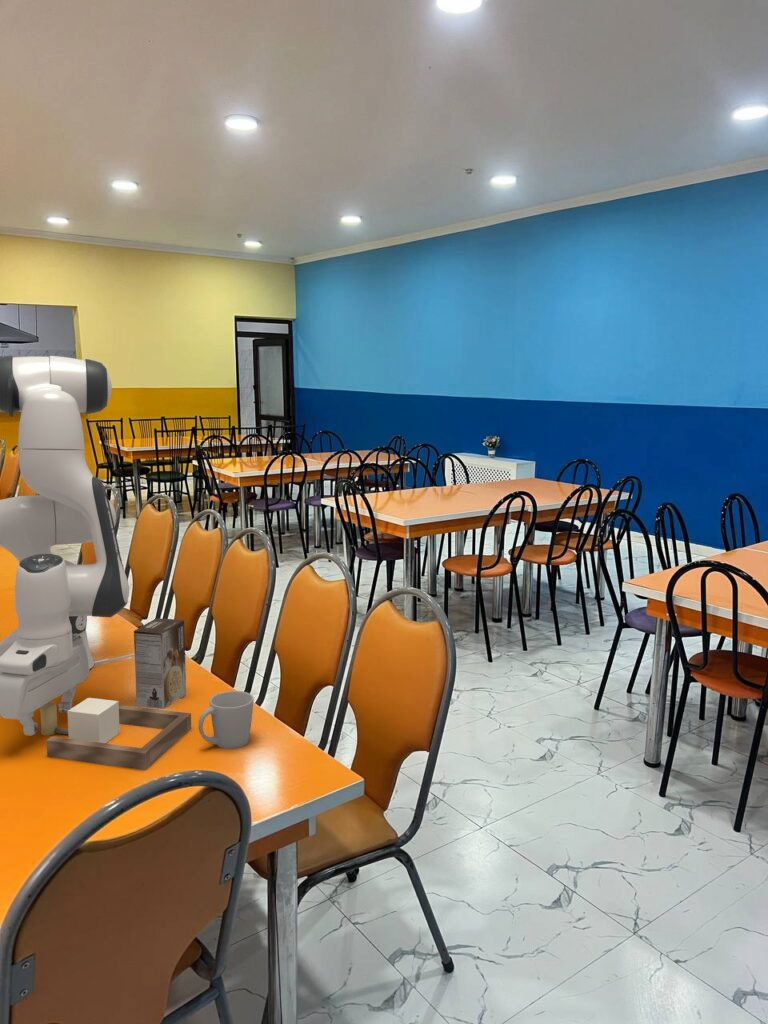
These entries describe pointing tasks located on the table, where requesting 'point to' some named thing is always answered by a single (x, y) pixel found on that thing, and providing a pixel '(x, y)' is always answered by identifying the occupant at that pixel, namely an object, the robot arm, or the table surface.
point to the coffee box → (160, 663)
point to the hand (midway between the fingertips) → (48, 722)
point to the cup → (229, 719)
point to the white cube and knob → (84, 720)
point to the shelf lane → (126, 756)
